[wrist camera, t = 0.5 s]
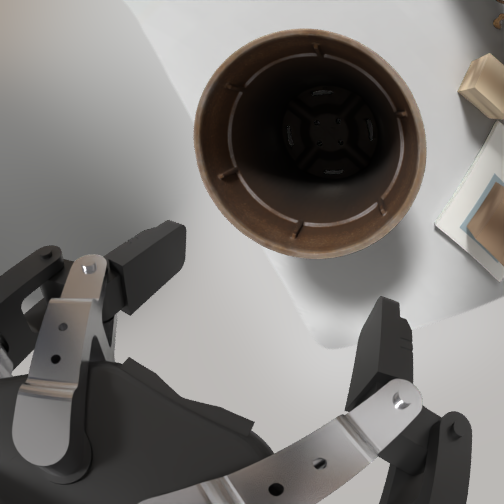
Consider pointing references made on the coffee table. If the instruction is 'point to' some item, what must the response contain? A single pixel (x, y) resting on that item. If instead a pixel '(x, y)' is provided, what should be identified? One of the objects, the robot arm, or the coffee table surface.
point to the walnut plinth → (490, 223)
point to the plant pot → (309, 143)
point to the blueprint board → (476, 200)
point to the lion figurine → (499, 17)
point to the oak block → (485, 86)
